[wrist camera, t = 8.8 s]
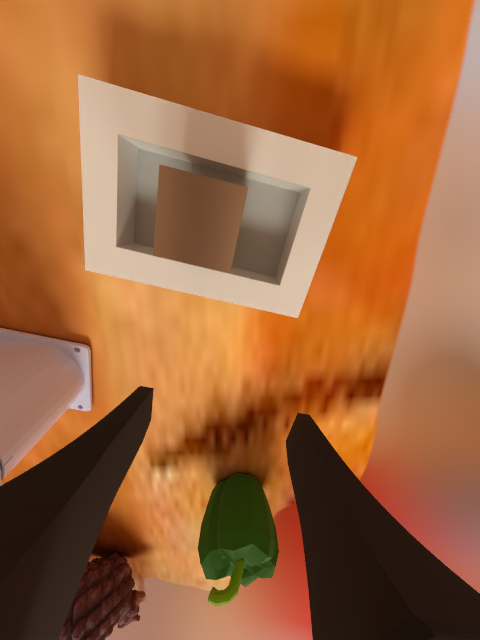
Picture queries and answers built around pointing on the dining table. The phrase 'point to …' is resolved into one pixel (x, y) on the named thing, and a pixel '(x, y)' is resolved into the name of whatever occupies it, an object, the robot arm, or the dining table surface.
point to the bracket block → (197, 219)
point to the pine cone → (102, 600)
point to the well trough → (212, 161)
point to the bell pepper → (237, 536)
